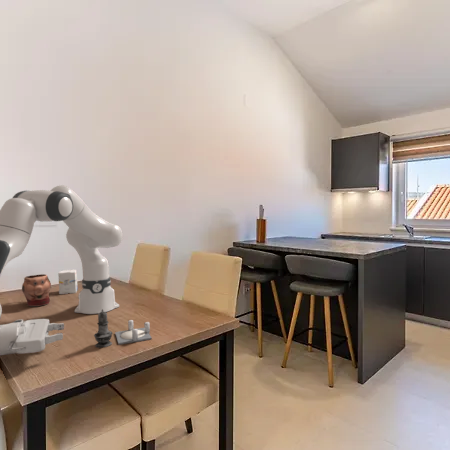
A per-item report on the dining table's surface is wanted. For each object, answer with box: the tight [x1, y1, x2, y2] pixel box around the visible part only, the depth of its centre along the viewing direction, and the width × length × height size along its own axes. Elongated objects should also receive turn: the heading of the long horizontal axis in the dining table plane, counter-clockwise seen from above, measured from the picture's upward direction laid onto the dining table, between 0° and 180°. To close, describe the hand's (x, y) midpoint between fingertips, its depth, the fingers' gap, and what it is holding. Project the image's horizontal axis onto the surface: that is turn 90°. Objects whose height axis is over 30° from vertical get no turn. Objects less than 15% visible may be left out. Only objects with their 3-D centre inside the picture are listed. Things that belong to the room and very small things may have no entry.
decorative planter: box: [21, 273, 52, 307], centre depth 164 cm, size 20×12×14 cm, turn 43°
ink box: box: [57, 269, 78, 295], centre depth 186 cm, size 9×8×12 cm
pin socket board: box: [114, 319, 153, 345], centre depth 120 cm, size 12×11×4 cm
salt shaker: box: [93, 309, 113, 349], centre depth 113 cm, size 6×6×12 cm
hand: (63, 330), depth 108 cm, fingers open, 8 cm apart
